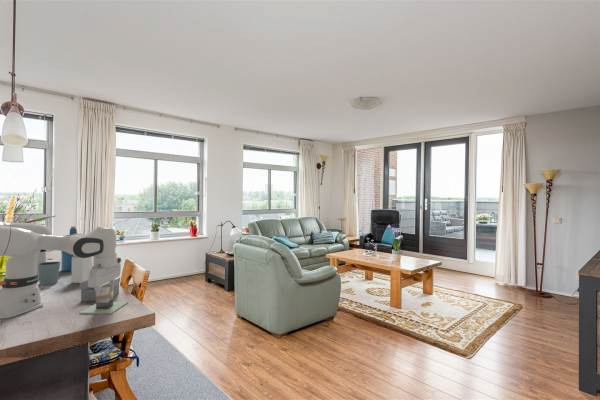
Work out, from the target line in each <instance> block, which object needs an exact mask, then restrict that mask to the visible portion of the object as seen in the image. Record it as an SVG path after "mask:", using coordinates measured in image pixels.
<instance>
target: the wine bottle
mask: <svg viewBox="0 0 600 400" xmlns="http://www.w3.org/2000/svg"><path fill="white" fill-rule="evenodd" d="M77 229H78V228H77V227H76V226H73V225H72V226H70V229H69V233H68V234H69V235H70V234H75V233H78V231H77ZM72 257H73V255H69V254H67V253H65V252H63V251H60V269H61V272H68V273H69V272H72Z"/></svg>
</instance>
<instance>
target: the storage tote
mask: <svg viewBox="0 0 600 400" xmlns="http://www.w3.org/2000/svg"><path fill="white" fill-rule="evenodd" d="M120 281H121V276H119V277H117V278H115V282H114V284H113V298H114V297H116V296H117V295H119V294H120ZM106 284H109V282H107V283H106ZM79 287H80V292H81V293H80V295H81V296H80V298H81V299H80V301H81V302H96V291H95V289H94V288H90V287H88V280H86V281H84V282H81V283H79Z"/></svg>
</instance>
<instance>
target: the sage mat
mask: <svg viewBox="0 0 600 400" xmlns="http://www.w3.org/2000/svg"><path fill="white" fill-rule="evenodd" d="M128 304H129V303H128V301H113V306H111V307H110V308H108V309H96V303H94V304H93V305H90V306H88V307H87V308H84V310H81V311H79V315H112V313H113V314H114V313H115V311H116V312H117V311H118V309H119V310H120V309H121V308H123V307H125V306H126V305H128Z"/></svg>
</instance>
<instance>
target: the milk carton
mask: <svg viewBox="0 0 600 400" xmlns="http://www.w3.org/2000/svg"><path fill="white" fill-rule="evenodd" d="M92 258H93V256H92V257H88V258H79V257H76V256H73V257H72V271H71V284H80V283H81V282H84V281H86V280H88V276H89V272H90V271H91V269H92V267H93V266H92V264H93V263H92Z"/></svg>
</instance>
